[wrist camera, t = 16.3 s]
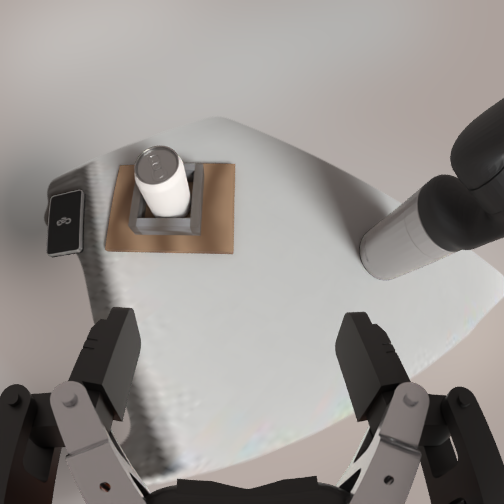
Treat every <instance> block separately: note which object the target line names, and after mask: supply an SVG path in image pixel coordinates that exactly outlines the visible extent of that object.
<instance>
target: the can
mask: <svg viewBox="0 0 504 504" xmlns="http://www.w3.org/2000/svg"><path fill="white" fill-rule="evenodd" d="M134 171H135V181H136V184H137V186H138V188H139V190H140V192H141V193H142V195H143V197H144V199H145V201H146V203H147V205H148V206H149V208H150V210H151V212H152V213H153V215H154V216H155V218H184V217H185V216H186V215H187V214H188V213H189V211H190V208H191V196H190V191H189V187H188V182H187V178H186V173H185V169H184V165H183V162H182V160H181V158H180V157H179V156H178V155H177V153H176V152H175V151H174V150H173V149H171V148H169V147H167V146H154V147H151V148H149V149H147V150H145V151H144V152H142V153H141V154H140V156H139V157H138V158H137V160H136V162H135V166H134Z"/></svg>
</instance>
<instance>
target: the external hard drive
mask: <svg viewBox="0 0 504 504" xmlns="http://www.w3.org/2000/svg"><path fill="white" fill-rule="evenodd" d="M84 208H85V194H84V192H83V191H82V190H76V191H72V192H67V193H63V194H59V195H55V196H52V197H51V199H50V207H49V217H48V230H47V250H46V253H47V255H49V256H51V257H57V256H64V255H70V254H75V253H81V252H82V251H83V236H84Z"/></svg>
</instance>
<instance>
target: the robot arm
mask: <svg viewBox="0 0 504 504" xmlns="http://www.w3.org/2000/svg"><path fill="white" fill-rule="evenodd" d="M450 160H451V166H452V168H453V170H454V172H455V174H456V175H457V177H458V178H459V179H458V178H456V177H454V176H451V175H439V176H436V177H434V178H433V179H431V180H430V181H429V182H427V184H425V185H424V186H423V187H422V188H420V189H419V190H418V191H417V192H416V193H414V194H413V195H412V196H411V197H410V198H409V199H407V200H406V201H405V202H404V203H403V204H401V205H400V206H399V207H398V208H397V209H395V210H394V211H393V212H392V213H390V214H389V215H388V216H387V217H386V218H384V219H383V220H382V221H381V222H379V223H378V224H377V225H376V226H374V227H373V228H372V229H371V230H369V231H368V232H367V233H366V234H365V235H364V237H363V238H362V241H361V244H360V256H361V260H362V263H363V265H364V266H365V268H366V270H367V271H368V272H369V273H370V274H371V275H373V276H374V277H376V278H378V279H380V280H391V279H394V278H397V277H399V276H402V275H404V274H407V273H409V272H412V271H414V270H417V269H419V268H421V267H424V266H426V265H428V264H431V263H433V262H435V261H438V260H440V259H442V258H444V257H446V256H449V255H451V254H453V253H455V252H457V251H460V250H471V249H474V248H477V247H480V246H482V245H485V244H487V243H489V242H493V241H495V240H498V239H500V238H503V237H504V98H503V99H502V100H500V101H499V102H497V103H496V104H495V105H493V106H492V107H490V108H489V109H488V110H486V111H485V112H484V113H482V114H481V115H480V116H479V117H477V118H476V119H475V120H473V121H472V122H471V123H470V124H469V125H468V126H467V127H466V128H465V129H464V130H463V131H462V133H461V134H460V135H459V136H458V138H457V140H456V141H455V143H454V145H453V148H452V151H451V156H450ZM140 349H141V339H140V334H139V330H138V326H137V322H136V318H135V313H134V310H133V309H132V308H122V307H113V308H112V309H111V312H110V314H109V316H108V318H107V320H104V319H100V320H99V321H98V322H97V323H96V324H95V325H94V326H93V327H92V328H91V330H90V332H89V335H88V337H87V340H86V341H85V343H84V346H83V349H82V350H81V352H80V355H79V357H78V359H77V362H76V364H75V366H74V368H73V371H72V373H71V376H70V378H69V380H68V381H67V382H63V383H61V384H59V385H58V386H56V387H55V388H54V390H53V391H52V393H42V394H30V392H29V391H28V390H27V388H25V387H24V386H22V385H19V384H15V385H11V386H9V387H7V388H6V389H5V390H4V391H3V392H2V394H1V396H0V504H52V498H53V491H54V485H55V479H56V474H57V468H58V463H59V458H60V453H61V448H62V447H66V449H67V452H68V455H66V462H67V464H68V467H69V469H70V471H71V474H72V476H73V478H74V480H75V482H76V484H77V487H78V489H79V490H80V493H81V495H82V497H83V498H84V500H85V502H86V504H405V501H406V499H407V496H408V494H409V491H410V489H411V486H412V483H413V480H414V478H415V475H416V472H417V469H418V466H419V463H420V462H421V465H422V468H423V473H424V476H425V480H426V484H427V488H428V492H429V496H430V500H431V504H504V465H503V461H502V459H501V456H500V454H499V451H498V448H497V446H496V443H495V441H494V438H493V436H492V434H491V431H490V429H489V426H488V424H487V422H486V419H485V417H484V415H483V413H482V410H481V408H480V406H479V404H478V402H477V400H476V398H475V396H474V395H473V393H472V392H471V391H469V390H468V389H466V388H464V387H455V388H453V389H452V390H451V391H450V392H449V393H448V394H447V396H445V395H431V394H428V393H427V392H426V390H425V389H424V388H423V387H421V386H420V385H418V384H416V383H413V382H411V381H410V379H409V377H408V375H407V373H406V371H405V369H404V367H403V365H402V363H401V361H400V359H399V357H398V355H397V353H395V349H394V347H393V345H392V344H391V341H390V339H389V337H388V336H387V334H386V332H385V331H384V330H383V329H382V328H381V327H379V326H378V325H377V324H372V323H371V321H370V319H369V317H368V315H367V313H366V312H349V313H346V314H345V316H344V318H343V321H342V324H341V327H340V330H339V333H338V336H337V339H336V345H335V350H336V356H337V359H338V362H339V365H340V368H341V371H342V374H343V377H344V380H345V383H346V386H347V389H348V392H349V396H350V399H351V402H352V405H353V408H354V412H355V415H356V418H357V421H358V422H360V421H365V420H368V422H369V427H368V429H367V430H366V433H365V435H364V437H363V440H362V441H361V443H360V445H359V447H358V449H357V451H356V453H355V455H354V457H353V459H352V461H351V463H350V465H349V467H348V468H347V470H346V471H345V473H344V474H343V475H342V477H341V478H340V480H339V481H338V483H337V484H336V486H333V485H330V484H325V483H319V482H317V476H312V477H305V478H295V479H285V480H281V481H277V482H275V483H271V484H267V485H263V486H260V487H256V488H252V489H243V488H238V487H234V486H229V485H225V484H221V483H217V482H213V481H197V480H185V479H177V485H175V486H169V487H165V488H162V489H159V490H156V491H154V492H152V493H151V492H150V491H149V489H148V488H147V487H146V485H145V484H144V482H143V481H142V479H141V478H140V477H139V475H138V474H137V473H136V471H135V470H134V468H133V467H132V465H131V464H130V462H129V460H128V459H127V457H126V455H125V454H124V452H123V450H122V448H121V447H120V445H119V443H118V441H117V439H116V438H115V436H114V434H113V432H112V430H111V425H112V421H113V420H116V421H123V416H124V412H125V408H126V404H127V400H128V396H129V392H130V388H131V384H132V380H133V376H134V372H135V369H136V365H137V361H138V358H139V354H140ZM450 436H451V437H452V440H453V442H454V445H455V448H456V451H457V454H458V461H457V458H456V455H455V452H454V449H453V446H452V444H451V441H450V438H449V437H450Z"/></svg>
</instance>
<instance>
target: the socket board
mask: <svg viewBox="0 0 504 504" xmlns="http://www.w3.org/2000/svg"><path fill="white" fill-rule="evenodd" d="M183 165H184V169H185V173H186V178H187V182H188V187H189V191H190V196H191V208H190V211H189V213H188V214H187V215H186V216H185V217H184V218H155V216H154V215H153V213H152V212H151V210H150V208H149V206H148V205H147V203H146V201H145V199H144V197H143V195H142V193H141V192H140V190H139V188H138V186H137V184H136V181H135V171H134V166H135V165H120V167H119V172H118V176H117V181H116V186H115V191H114V196H113V201H112V207H111V213H110V219H109V225H108V232H107V239H106V246H105V250H107V251H112V252H159V253H208V254H233V244H234V192H235V164H207V163H183Z"/></svg>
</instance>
